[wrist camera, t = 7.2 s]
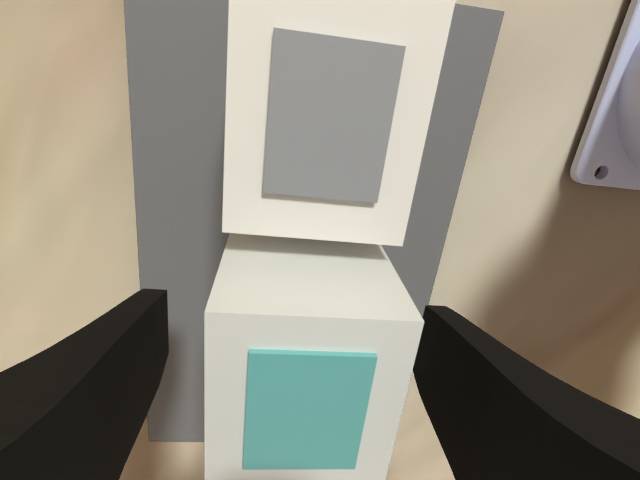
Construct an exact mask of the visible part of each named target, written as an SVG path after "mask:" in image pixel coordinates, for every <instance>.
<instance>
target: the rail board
mask: <svg viewBox="0 0 640 480" xmlns="http://www.w3.org/2000/svg"><path fill="white" fill-rule="evenodd" d="M455 2H456V0H124V14H125V32H126V49H127V67H128V84H129V102H130V119H131V137H132V155H133V172H134V190H135V207H136V225H137V242H138V260H139V277H140V290H142V289H143V288H145V289H162V290H167V300H168V336H169V354H168V358H167V361H166V365H165V368H164V372H163V375H162V378H161V382H160V385H159V388H158V390H157V392H156V395H155V397H154V399H153V402H152V404H151V406H150V409H149V411H148V413H147V418H148V435H149V441H172V442H204V312H205V309H206V305H207V302H208V299H209V296H210V293H211V290H212V287H213V284H214V280H215V277H216V274H217V271H218V268H219V265H220V262H221V259H222V255H223V252H224V249H225V246H226V243H227V240H228V237H229V234H230V233H237V234H250V235H263V236H276V237H289V238H302V239H314V240H327V241H340V242H353V243H366V244H378V245H381V246H382V247H383V249H384V251H385V253H386V254H387V256H388V258H389V260H390V262H391V263H392V265H393V267H394V269H395V270H396V272H397V274H398V276H399V277H400V279H401V281H402V283H403V285H404V286H405V288H406V290H407V292H408V293H409V295H410V297H411V299H412V300H413V302H414V304H415V306H416V308H417V309H418V311H419V313H420V315H421V316H422V317H423V313H424V309H425V306H426V305H429V301H430V297H431V293H432V289H433V285H434V281H435V278H436V274H437V270H438V266H439V262H440V258H441V254H442V251H443V247H444V243H445V239H446V235H447V231H448V227H449V224H450V220H451V216H452V212H453V208H454V204H455V200H456V197H457V193H458V189H459V185H460V181H461V177H462V173H463V170H464V166H465V162H466V158H467V154H468V150H469V146H470V143H471V139H472V135H473V131H474V127H475V123H476V119H477V116H478V112H479V108H480V104H481V100H482V96H483V92H484V89H485V85H486V81H487V77H488V73H489V69H490V65H491V62H492V58H493V54H494V50H495V46H496V42H497V38H498V35H499V31H500V27H501V23H502V19H503V15H504V11H498V10H492V9H485V8H479V7H473V6H467V5H460V4H455Z"/></svg>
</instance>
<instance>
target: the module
mask: <svg viewBox="0 0 640 480" xmlns="http://www.w3.org/2000/svg"><path fill="white" fill-rule="evenodd" d="M423 326H424V320H423V318H422V316H421V315H420V313H419V311H418V309H417V308H416V306H415V304H414V302H413V300H412V299H411V297H410V295H409V293H408V292H407V290H406V288H405V286H404V285H403V283H402V281H401V279H400V277H399V276H398V274H397V272H396V270H395V269H394V267H393V265H392V263H391V262H390V260H389V258H388V256H387V254H386V253H385V251H384V249H383V247H382V246H381V245H378V244H366V243H353V242H340V241H327V240H314V239H302V238H289V237H276V236H263V235H250V234H237V233H230V234H229V237H228V240H227V243H226V246H225V249H224V252H223V255H222V259H221V262H220V265H219V268H218V271H217V274H216V277H215V280H214V284H213V287H212V290H211V293H210V296H209V299H208V302H207V305H206V309H205V312H204V443H205V480H386V476H387V472H388V467H389V463H390V459H391V455H392V451H393V447H394V443H395V439H396V435H397V431H398V427H399V423H400V419H401V415H402V411H403V407H404V403H405V399H406V394H407V390H408V386H409V382H410V378H411V374H412V370H413V366H414V362H415V358H416V354H417V350H418V346H419V342H420V338H421V334H422V330H423Z"/></svg>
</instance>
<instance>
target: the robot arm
mask: <svg viewBox="0 0 640 480" xmlns="http://www.w3.org/2000/svg"><path fill="white" fill-rule="evenodd" d="M599 167H601V169H600V172H599V174H598V175H596V176H594V175H595V171H596V170H597V168H599ZM570 176H571V178H572V179H573V180H574V181H576V182H578V183H581V184H586V185H595V186H605V187H615V188H624V189H634V190H640V0H631V3H630V5H629V8H628V11H627V14H626V16H625V19H624V22H623V25H622V27H621V30H620V33H619V36H618V39H617V41H616V44H615V47H614V50H613V52H612V55H611V58H610V61H609V63H608V66H607V69H606V72H605V74H604V77H603V80H602V83H601V86H600V88H599V91H598V94H597V97H596V99H595V102H594V105H593V108H592V110H591V113H590V116H589V119H588V122H587V124H586V127H585V130H584V133H583V135H582V138H581V141H580V144H579V146H578V149H577V152H576V155H575V157H574V160H573V163H572V166H571V169H570ZM422 318H423V320H424V326H423V330H422V334H421V338H420V342H419V346H418V350H417V354H416V358H415V362H414V366H413V372H414V376H415V380H416V383H417V387H418V390H419V394H420V396H421V399H422V401H423V404H424V406H425V409H426V411H427V413H428V416H429V418H430V420H431V423H432V425H433V427H434V430H435V432H436V434H437V437H438V439H439V441H440V444H441V446H442V448H443V451H444V453H445V455H446V458H447V460H448V462H449V465H450V467H451V469H452V472H453V475H454V477H455V480H640V419H638V418H636V417H634V416H632V415H629V414H627V413H625V412H623V411H621V410H619V409H616V408H614V407H612V406H610V405H608V404H606V403H603V402H601V401H599V400H597V399H595V398H593V397H591V396H589V395H587V394H585V393H583V392H582V391H580V390H578V389H576V388H574V387H572V386H571V385H569V384H567V383H565V382H563V381H561V380H559V379H558V378H556V377H554V376H552V375H551V374H549V373H547V372H546V371H544V370H542V369H541V368H539V367H537V366H536V365H534V364H533V363H531V362H529V361H528V360H526V359H525V358H523V357H521V356H520V355H518V354H517V353H515V352H514V351H512V350H511V349H509V348H508V347H506V346H505V345H503V344H502V343H500V342H499V341H497V340H496V339H494V338H493V337H492V336H490V335H489V334H487V333H486V332H484V331H483V330H481V329H480V328H479V327H477V326H476V325H474V324H473V323H471V322H470V321H468V320H467V319H466V318H464V317H463V316H461V315H460V314H458V313H456V312H455V311H453V310H452V309H450V308H448V307H446V306H432V305H426V306H425V309H424V313H423V317H422ZM168 354H169V336H168V300H167V290H162V289H145V288H143V289H142V290H140V291H138V292H137V293H135V294H134V295H132V296H130V297H129V298H128V299H126V300H125V301H123V302H122V303H120V304H119V305H117V306H116V307H114V308H113V309H111V310H110V311H108V312H107V313H105V314H104V315H102V316H100V317H99V318H97V319H96V320H94V321H93V322H91V323H90V324H88V325H87V326H85V327H83V328H82V329H80V330H78V331H77V332H75V333H73V334H71V335H70V336H68V337H66V338H65V339H63V340H61V341H60V342H58V343H56V344H55V345H53V346H51V347H49V348H48V349H46V350H44V351H42V352H40V353H38V354H36V355H35V356H33V357H31V358H29V359H27V360H25V361H23V362H21V363H19V364H17V365H15V366H13V367H10V368H8V369H6V370H4V371H2V372H0V480H119V478H120V475H121V473H122V470H123V468H124V465H125V463H126V461H127V459H128V456H129V454H130V452H131V449H132V447H133V445H134V443H135V440H136V438H137V436H138V434H139V431H140V429H141V427H142V425H143V422H144V420H145V418H146V416H147V413H148V411H149V409H150V406H151V404H152V402H153V399H154V397H155V395H156V392H157V390H158V388H159V385H160V382H161V378H162V375H163V372H164V368H165V365H166V361H167V358H168Z"/></svg>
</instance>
